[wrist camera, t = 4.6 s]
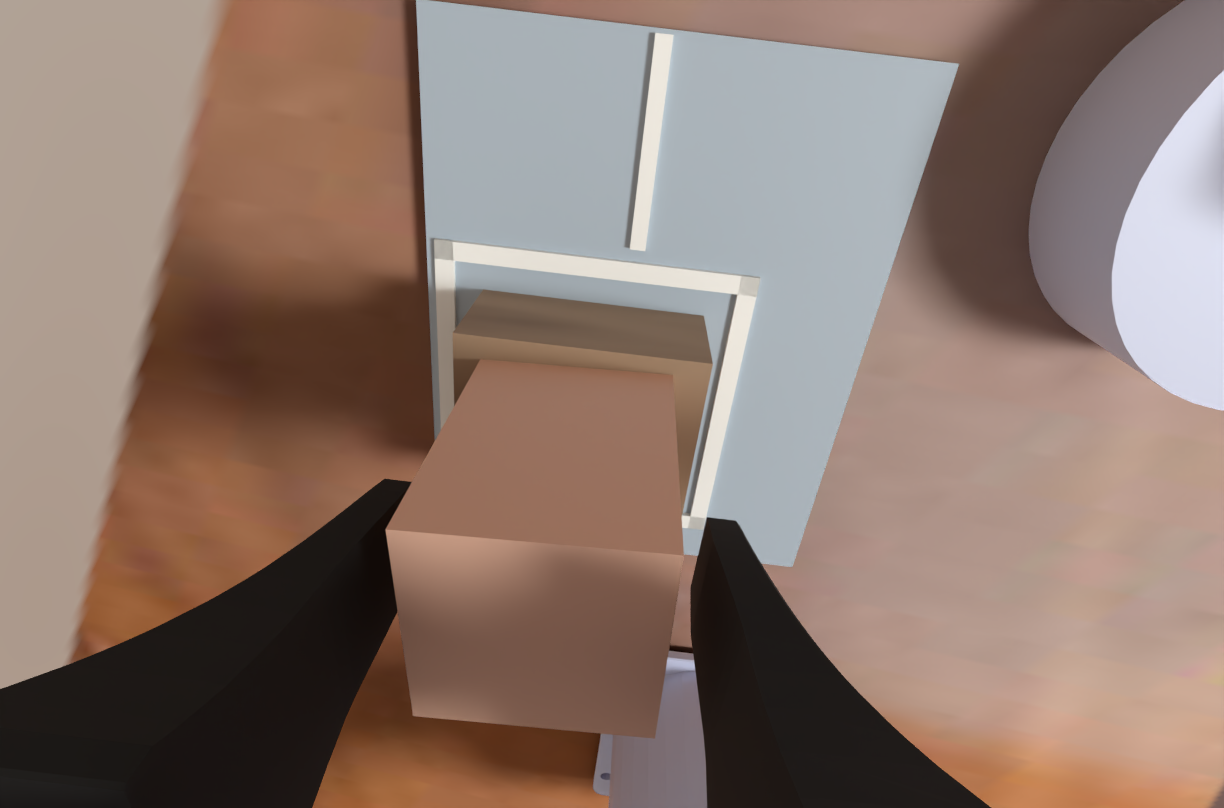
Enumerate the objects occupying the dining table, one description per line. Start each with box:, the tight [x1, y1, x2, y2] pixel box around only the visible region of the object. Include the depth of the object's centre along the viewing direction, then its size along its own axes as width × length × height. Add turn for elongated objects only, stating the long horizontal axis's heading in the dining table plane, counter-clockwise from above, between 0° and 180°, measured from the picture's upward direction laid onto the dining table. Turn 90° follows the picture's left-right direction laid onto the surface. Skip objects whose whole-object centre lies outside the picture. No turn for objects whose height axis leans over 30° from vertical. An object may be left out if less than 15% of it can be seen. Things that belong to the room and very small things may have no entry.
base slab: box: [452, 289, 713, 516], centre depth 17 cm, size 6×6×3 cm
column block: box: [385, 359, 684, 739], centre depth 13 cm, size 4×4×6 cm
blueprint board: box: [416, 0, 959, 567], centre depth 18 cm, size 15×12×1 cm
